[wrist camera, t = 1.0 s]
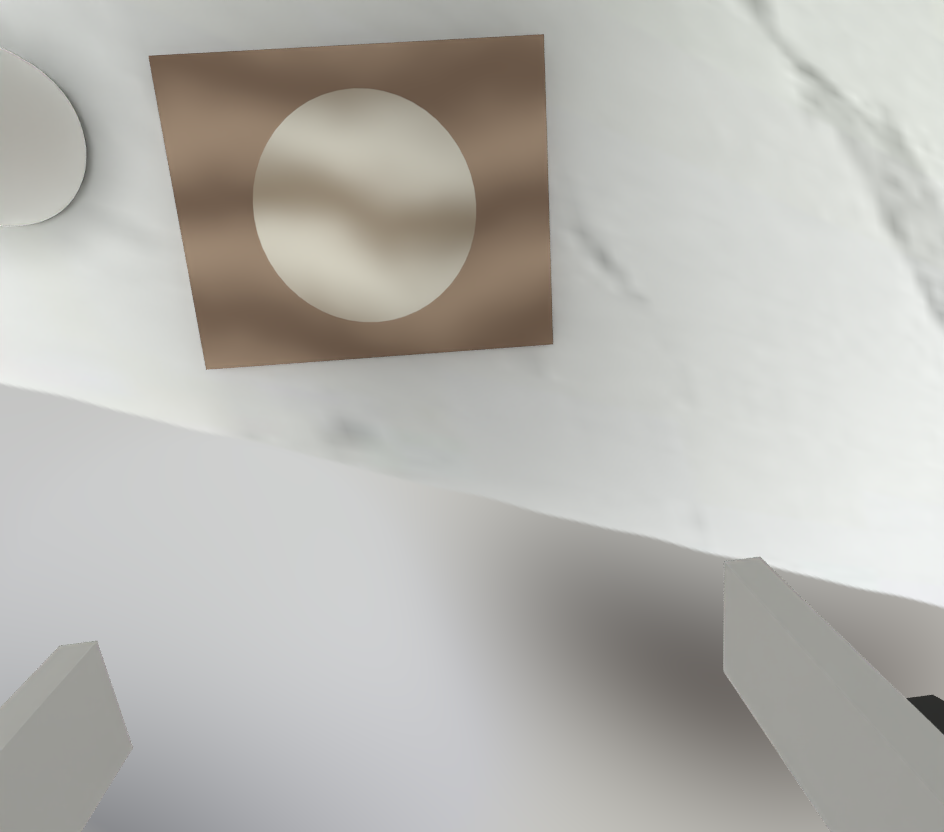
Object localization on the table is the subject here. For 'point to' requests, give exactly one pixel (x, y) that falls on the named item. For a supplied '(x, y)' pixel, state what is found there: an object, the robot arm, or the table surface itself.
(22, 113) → the mug
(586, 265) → the table surface
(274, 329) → the board
